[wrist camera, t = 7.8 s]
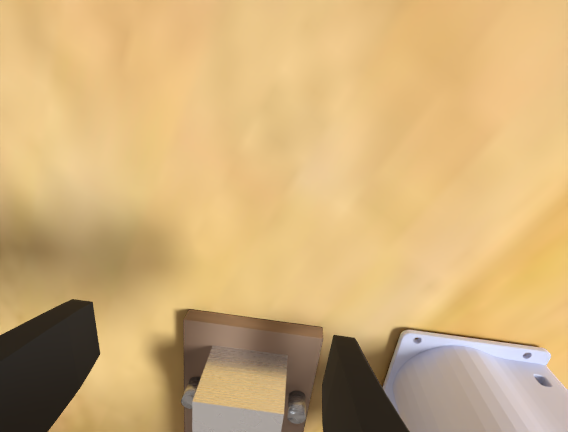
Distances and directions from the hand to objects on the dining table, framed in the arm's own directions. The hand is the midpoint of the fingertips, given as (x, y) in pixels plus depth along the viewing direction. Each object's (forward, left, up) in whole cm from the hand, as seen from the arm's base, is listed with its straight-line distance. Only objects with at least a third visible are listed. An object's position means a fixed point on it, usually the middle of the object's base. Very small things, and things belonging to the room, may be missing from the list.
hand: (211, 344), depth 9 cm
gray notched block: (0, +17, -8) cm, 19 cm away
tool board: (0, +17, -9) cm, 19 cm away
